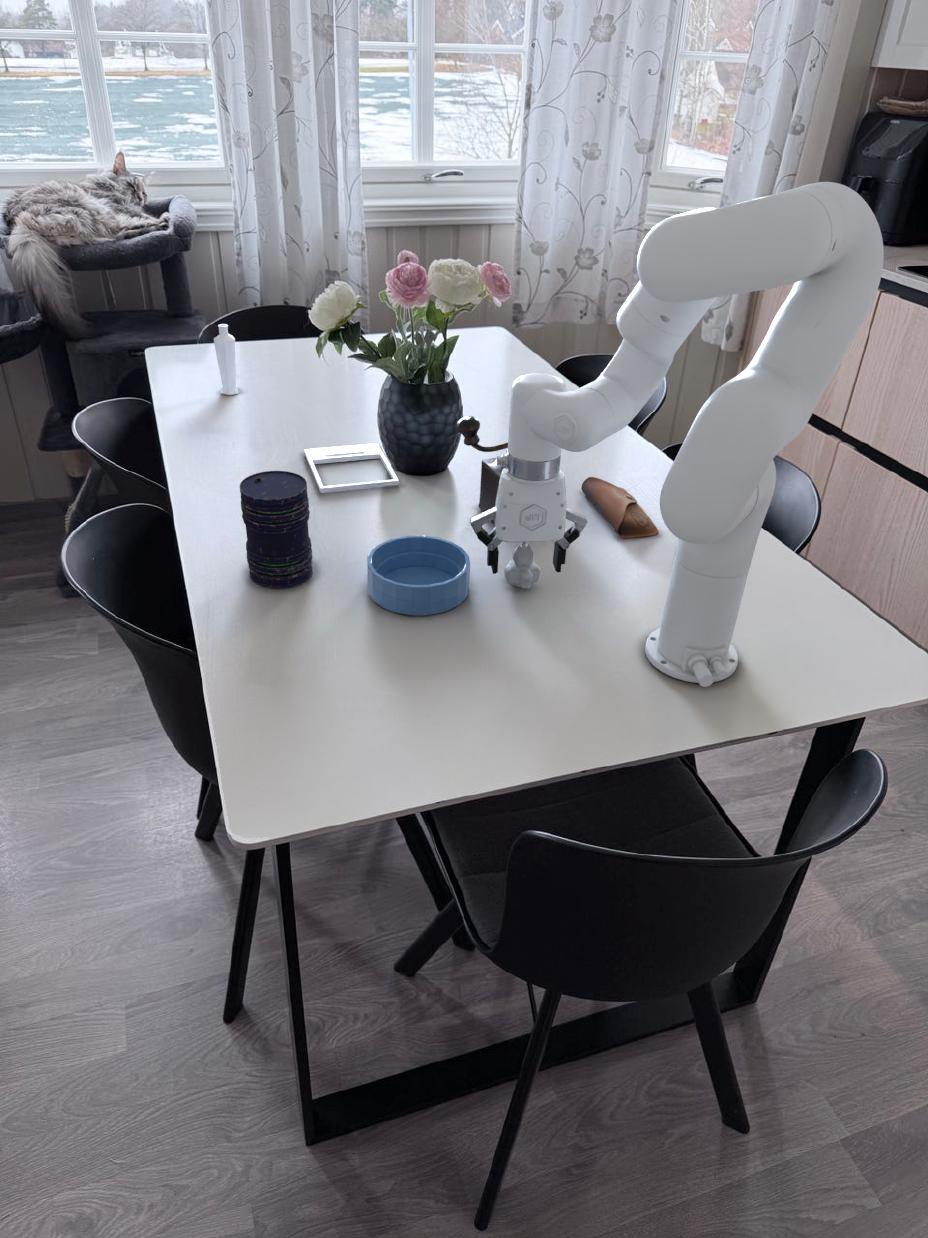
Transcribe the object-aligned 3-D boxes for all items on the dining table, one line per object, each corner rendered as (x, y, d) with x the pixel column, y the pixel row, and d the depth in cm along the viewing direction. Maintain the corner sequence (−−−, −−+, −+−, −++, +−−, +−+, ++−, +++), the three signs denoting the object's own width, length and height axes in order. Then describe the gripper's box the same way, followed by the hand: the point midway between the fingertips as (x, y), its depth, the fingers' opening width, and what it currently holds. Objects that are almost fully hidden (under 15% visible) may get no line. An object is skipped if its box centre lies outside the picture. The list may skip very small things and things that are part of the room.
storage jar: (326, 568, 140) (321, 481, 131) (285, 596, 132) (277, 506, 124) (277, 550, 144) (269, 464, 135) (235, 576, 136) (224, 488, 128)
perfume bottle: (217, 389, 203) (209, 323, 195) (236, 387, 205) (229, 321, 196) (222, 396, 200) (214, 329, 191) (241, 394, 201) (234, 327, 193)
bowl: (472, 616, 130) (474, 586, 127) (368, 618, 129) (367, 587, 126) (463, 563, 142) (464, 535, 140) (368, 564, 141) (367, 535, 138)
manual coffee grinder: (526, 497, 163) (534, 402, 153) (557, 523, 155) (567, 425, 145) (449, 511, 158) (453, 413, 148) (477, 539, 149) (482, 438, 139)
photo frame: (376, 442, 179) (399, 479, 165) (377, 447, 179) (399, 484, 165) (304, 448, 175) (320, 487, 161) (304, 453, 175) (320, 492, 161)
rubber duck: (532, 573, 141) (536, 529, 136) (544, 595, 135) (549, 550, 131) (498, 576, 140) (502, 531, 135) (510, 599, 134) (514, 552, 130)
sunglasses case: (663, 532, 153) (650, 504, 149) (627, 554, 153) (613, 526, 149) (622, 487, 167) (609, 460, 163) (589, 507, 168) (575, 481, 164)
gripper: (475, 475, 122) (471, 582, 132) (599, 474, 124) (586, 580, 133) (470, 453, 128) (466, 557, 138) (587, 452, 130) (576, 555, 139)
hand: (525, 568), depth 135 cm, fingers open, 9 cm apart
